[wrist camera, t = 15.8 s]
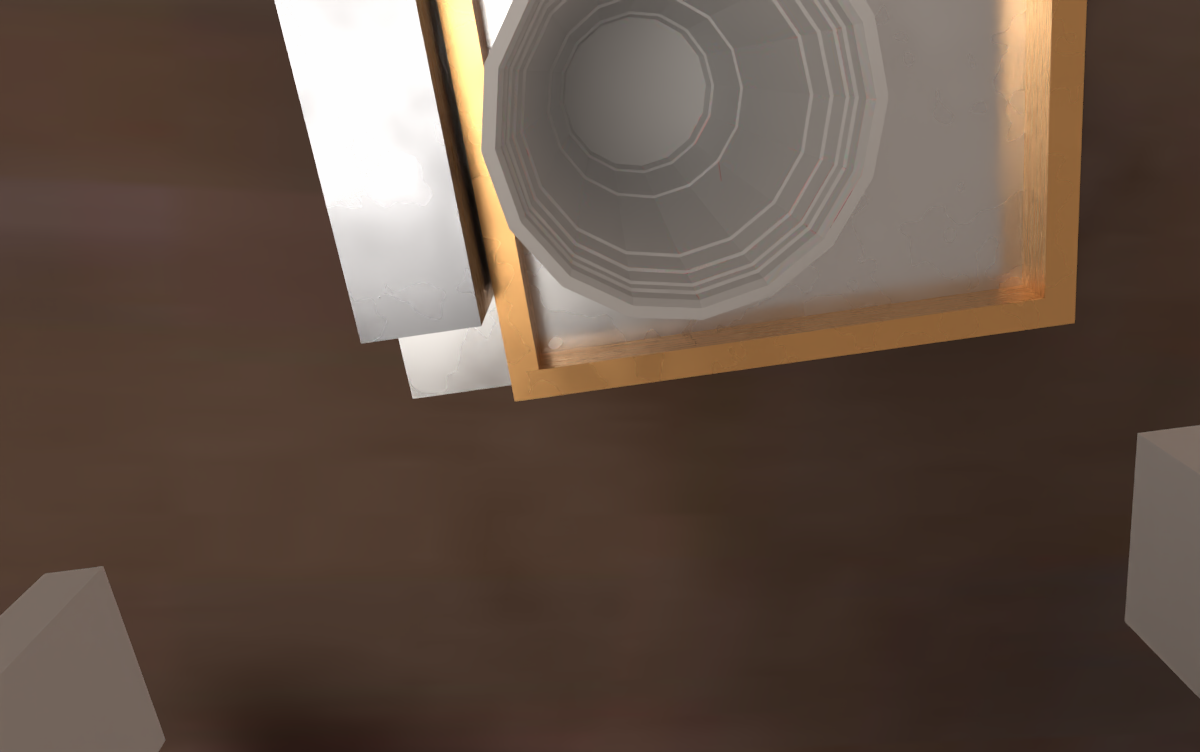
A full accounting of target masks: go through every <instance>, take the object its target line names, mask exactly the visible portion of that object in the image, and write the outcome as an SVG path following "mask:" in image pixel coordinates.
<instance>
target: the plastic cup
mask: <svg viewBox="0 0 1200 752" xmlns="http://www.w3.org/2000/svg"><path fill="white" fill-rule="evenodd" d="M888 98H889V95H888V89H887V84H886V78H885V72H884V66H883V61H882V55H881V49H880V43H879V37H878V32H877V26H876V20H875V15H874V13H873V12H872V10H871V8H870V7H869V5H868V4H867V2H866V1H865V0H512V3H511V5H510V7H509V9H508V12H507V14H506V16H505V18H504V21H503V23H502V25H501V27H500V30H499V32H498V34H497V36H496V38H495V41H494V43H493V45H492V47H491V50H490V52H489V54H488V56H487V59H486V61H485V63H484V84H483V112H482V139H481V153H482V155H483V158H484V161H485V164H486V166H487V169H488V172H489V175H490V177H491V180H492V183H493V186H494V188H495V191H496V194H497V197H498V199H499V202H500V205H501V208H502V210H503V213H504V216H505V219H506V221H507V224H508V227H509V229H510V230H511V232H512V233H513V234H514V235H515V236H516V237H517V238H518V239H519V240H520V241H521V242H522V243H523V245H524V246H525V247H526V248H527V249H528V250H529V251H530V252H531V253H532V254H533V255H534V257H535V258H536V259H537V260H538V261H539V262H540V263H541V264H542V265H543V266H544V267H545V269H546V270H547V271H548V272H549V273H550V274H551V275H552V276H553V277H554V278H555V279H556V281H557V282H558V283H559V284H560V285H561V286H562V287H564V288H567V289H569V290H571V291H573V292H575V293H578V294H580V295H582V296H584V297H586V298H588V299H591V300H593V301H595V302H597V303H599V304H602V305H604V306H606V307H608V308H610V309H613V310H615V311H617V312H619V313H621V314H623V315H626V316H628V317H637V318H664V319H691V320H704V319H707V318H710V317H713V316H715V315H718V314H721V313H724V312H727V311H730V310H733V309H735V308H738V307H741V306H744V305H747V304H750V303H752V302H755V301H758V300H761V299H764V298H767V297H770V296H772V295H774V294H775V293H776V292H778V291H779V290H780V289H781V288H782V287H784V286H785V285H786V284H787V283H789V282H790V281H791V280H792V279H793V278H795V277H796V276H797V275H798V274H799V273H801V272H802V271H803V270H804V269H805V268H807V267H808V266H809V265H810V264H811V263H813V262H814V261H815V260H816V259H817V258H819V257H820V256H821V255H822V254H823V253H825V252H826V251H827V250H828V249H830V248H831V247H832V246H833V244H834V243H835V241H836V239H837V238H838V236H839V234H840V233H841V231H842V229H843V227H844V226H845V224H846V222H847V221H848V219H849V217H850V216H851V214H852V212H853V211H854V209H855V207H856V206H857V204H858V202H859V201H860V199H861V197H862V195H863V194H864V192H865V190H866V189H867V187H868V185H869V184H870V182H871V180H872V179H873V176H874V171H875V166H876V160H877V155H878V150H879V145H880V140H881V135H882V129H883V124H884V119H885V114H886V109H887V104H888Z"/></svg>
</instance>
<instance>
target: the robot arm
mask: <svg viewBox="0 0 1200 752" xmlns="http://www.w3.org/2000/svg"><path fill="white" fill-rule="evenodd" d="M1125 622H1126V623H1127V624H1128V625H1129V626H1130V627H1131V628H1132V630H1133V631H1134V632H1135V633H1136V634H1137V635H1138V636H1139V637H1140V638H1141V639H1142V640H1143V641H1144V642H1145V643H1146V644H1147V645H1148V646H1149V647H1150V648H1151V649H1152V650H1153V651H1154V652H1155V653H1156V654H1157V655H1158V656H1159V657H1160V658H1161V659H1162V660H1163V661H1164V662H1165V663H1166V664H1167V665H1168V666H1169V668H1170V669H1171V670H1172V671H1173V672H1174V673H1175V674H1176V675H1177V676H1178V677H1179V678H1180V679H1181V680H1182V681H1183V682H1184V683H1185V684H1186V685H1187V686H1188V687H1189V688H1190V689H1191V690H1192V691H1193V692H1194V693H1195V694H1196V695H1197V696H1198V697H1199V698H1200V425H1197V426H1189V427H1181V428H1174V429H1166V430H1158V431H1150V432H1143V433H1138V434H1137V449H1136V463H1135V478H1134V493H1133V507H1132V522H1131V536H1130V551H1129V566H1128V580H1127V595H1126V610H1125ZM164 742H165V737H164V734H163V732H162V729H161V726H160V723H159V720H158V718H157V715H156V712H155V709H154V707H153V704H152V701H151V698H150V695H149V693H148V690H147V687H146V684H145V682H144V679H143V676H142V673H141V670H140V668H139V665H138V662H137V659H136V656H135V654H134V651H133V648H132V645H131V643H130V640H129V637H128V634H127V631H126V629H125V626H124V623H123V620H122V618H121V615H120V612H119V609H118V606H117V604H116V601H115V598H114V595H113V592H112V590H111V587H110V584H109V581H108V579H107V576H106V573H105V570H104V567H103V566H101V567H93V568H85V569H78V570H70V571H62V572H54V573H47V574H44V575H43V576H42V577H41V578H40V579H38V580H37V581H36V582H35V583H34V584H33V585H32V586H31V587H30V588H29V589H28V590H27V591H26V592H25V593H24V594H23V595H22V596H21V597H20V598H18V599H17V600H16V601H15V602H14V603H13V604H12V605H11V606H10V607H9V608H8V609H7V610H6V611H5V612H4V613H3V614H2V615H1V616H0V752H158V751H159V750H160V748H161V747H162V745H163V743H164Z"/></svg>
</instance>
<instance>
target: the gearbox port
mask: <svg viewBox="0 0 1200 752" xmlns="http://www.w3.org/2000/svg"><path fill="white" fill-rule="evenodd" d="M865 1H866V2H867V4H868V5H869V7H870V8H871V10H872V12H873V13H874V15H875V20H876V26H877V32H878V37H879V43H880V49H881V55H882V61H883V66H884V72H885V78H886V84H887V89H888V95H889V98H888V104H887V109H886V114H885V119H884V124H883V129H882V135H881V140H880V145H879V150H878V155H877V160H876V166H875V171H874V176H873V179H872V180H871V182H870V184H869V185H868V187H867V189H866V190H865V192H864V194H863V195H862V197H861V199H860V201H859V202H858V204H857V206H856V207H855V209H854V211H853V212H852V214H851V216H850V217H849V219H848V221H847V222H846V224H845V226H844V227H843V229H842V231H841V233H840V234H839V236H838V238H837V239H836V241H835V243H834V244H833V246H832V247H831V248H830V249H828V250H827V251H826V252H825V253H823V254H822V255H821V256H820V257H819V258H817V259H816V260H815V261H814V262H813V263H811V264H810V265H809V266H808V267H807V268H805V269H804V270H803V271H802V272H801V273H799V274H798V275H797V276H796V277H795V278H793V279H792V280H791V281H790V282H789V283H787V284H786V285H785V286H784V287H782V288H781V289H780V290H779V291H778V292H776V293H775V294H774V295H772V296H770V297H767V298H764V299H761V300H758V301H755V302H752V303H750V304H747V305H744V306H741V307H738V308H735V309H733V310H730V311H727V312H724V313H721V314H718V315H715V316H713V317H710V318H707V319H704V320H691V319H664V318H637V317H628V316H626V315H623V314H621V313H619V312H617V311H615V310H613V309H610V308H608V307H606V306H604V305H602V304H599V303H597V302H595V301H593V300H591V299H588V298H586V297H584V296H582V295H580V294H578V293H575V292H573V291H571V290H569V289H567V288H564V287H562V286H561V285H560V284H559V283H558V282H557V281H556V279H555V278H554V277H553V276H552V275H551V274H550V273H549V272H548V271H547V270H546V269H545V267H544V266H543V265H542V264H541V263H540V262H539V261H538V260H537V259H536V258H535V257H534V255H533V254H532V253H531V252H530V251H529V250H528V249H527V248H526V247H525V246H524V245H523V243H522V242H521V241H520V240H519V239H518V238H517V237H516V236H515V235H514V234H513V233H512V232H511V230H510V229H509V227H508V224H507V221H506V219H505V216H504V213H503V210H502V208H501V205H500V202H499V199H498V197H497V194H496V191H495V188H494V186H493V183H492V180H491V177H490V175H489V172H488V169H487V166H486V164H485V161H484V158H483V155H482V153H481V139H482V112H483V84H484V63H485V61H486V59H487V56H488V54H489V52H490V50H491V47H492V45H493V43H494V41H495V38H496V36H497V34H498V32H499V30H500V27H501V25H502V23H503V21H504V18H505V16H506V14H507V12H508V9H509V7H510V5H511V3H512V0H275V4H276V8H277V12H278V16H279V20H280V24H281V28H282V32H283V36H284V40H285V44H286V48H287V52H288V56H289V60H290V64H291V67H292V71H293V75H294V79H295V83H296V87H297V91H298V95H299V99H300V103H301V107H302V111H303V115H304V119H305V123H306V127H307V131H308V135H309V139H310V143H311V147H312V150H313V154H314V158H315V162H316V166H317V170H318V174H319V178H320V182H321V186H322V190H323V194H324V198H325V202H326V206H327V210H328V214H329V218H330V222H331V226H332V230H333V233H334V237H335V241H336V245H337V249H338V253H339V257H340V261H341V265H342V269H343V273H344V277H345V281H346V285H347V289H348V293H349V297H350V301H351V305H352V309H353V313H354V316H355V320H356V324H357V328H358V332H359V336H360V340H361V343H368V342H375V341H382V340H389V339H396V338H398V339H399V343H400V347H401V351H402V355H403V360H404V364H405V368H406V372H407V377H408V381H409V385H410V389H411V393H412V398H413V399H415V398H422V397H430V396H437V395H444V394H451V393H458V392H465V391H472V390H479V389H486V388H493V387H500V386H508V385H512V390H513V395H514V400H515V401H522V400H529V399H537V398H544V397H551V396H558V395H565V394H572V393H579V392H587V391H594V390H601V389H608V388H615V387H622V386H629V385H636V384H644V383H651V382H658V381H665V380H672V379H679V378H686V377H694V376H701V375H708V374H715V373H722V372H729V371H736V370H743V369H751V368H758V367H765V366H772V365H779V364H786V363H793V362H801V361H808V360H815V359H822V358H829V357H836V356H843V355H850V354H858V353H865V352H872V351H879V350H886V349H893V348H900V347H908V346H915V345H922V344H929V343H936V342H943V341H950V340H957V339H965V338H972V337H979V336H986V335H993V334H1000V333H1007V332H1015V331H1022V330H1029V329H1036V328H1043V327H1050V326H1057V325H1064V324H1072V323H1075V303H1076V276H1077V249H1078V223H1079V196H1080V169H1081V143H1082V116H1083V89H1084V63H1085V36H1086V10H1087V0H865Z"/></svg>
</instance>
